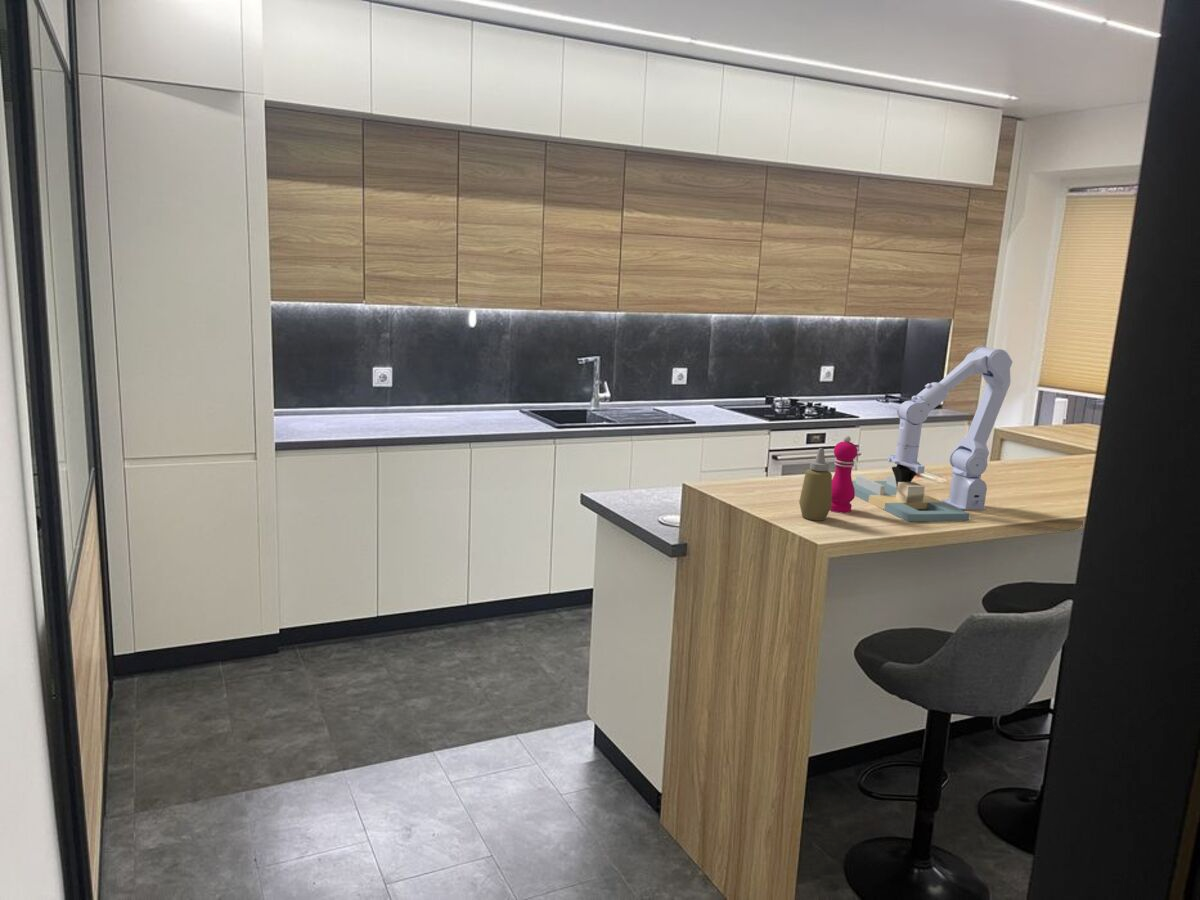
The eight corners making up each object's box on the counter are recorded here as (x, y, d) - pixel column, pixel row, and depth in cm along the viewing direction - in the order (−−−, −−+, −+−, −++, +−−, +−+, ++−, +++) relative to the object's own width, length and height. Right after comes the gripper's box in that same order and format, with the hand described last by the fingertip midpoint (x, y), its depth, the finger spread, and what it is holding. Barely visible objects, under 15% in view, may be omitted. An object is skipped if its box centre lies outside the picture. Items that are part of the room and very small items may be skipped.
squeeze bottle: (791, 516, 221) (798, 447, 218) (808, 511, 227) (816, 444, 223) (819, 524, 216) (827, 453, 212) (836, 519, 221) (844, 450, 218)
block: (922, 502, 235) (924, 486, 234) (906, 502, 234) (908, 486, 233) (911, 497, 240) (914, 482, 239) (895, 497, 239) (898, 482, 238)
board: (968, 520, 227) (971, 504, 226) (907, 521, 223) (910, 505, 222) (893, 487, 260) (895, 472, 259) (839, 487, 256) (841, 472, 255)
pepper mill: (833, 513, 226) (842, 438, 222) (819, 506, 233) (828, 433, 229) (858, 513, 228) (867, 438, 224) (843, 505, 235) (852, 433, 231)
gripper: (880, 439, 244) (874, 486, 246) (910, 450, 230) (903, 499, 233) (902, 439, 245) (896, 486, 248) (933, 450, 232) (926, 499, 234)
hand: (901, 492), depth 241 cm, fingers closed
